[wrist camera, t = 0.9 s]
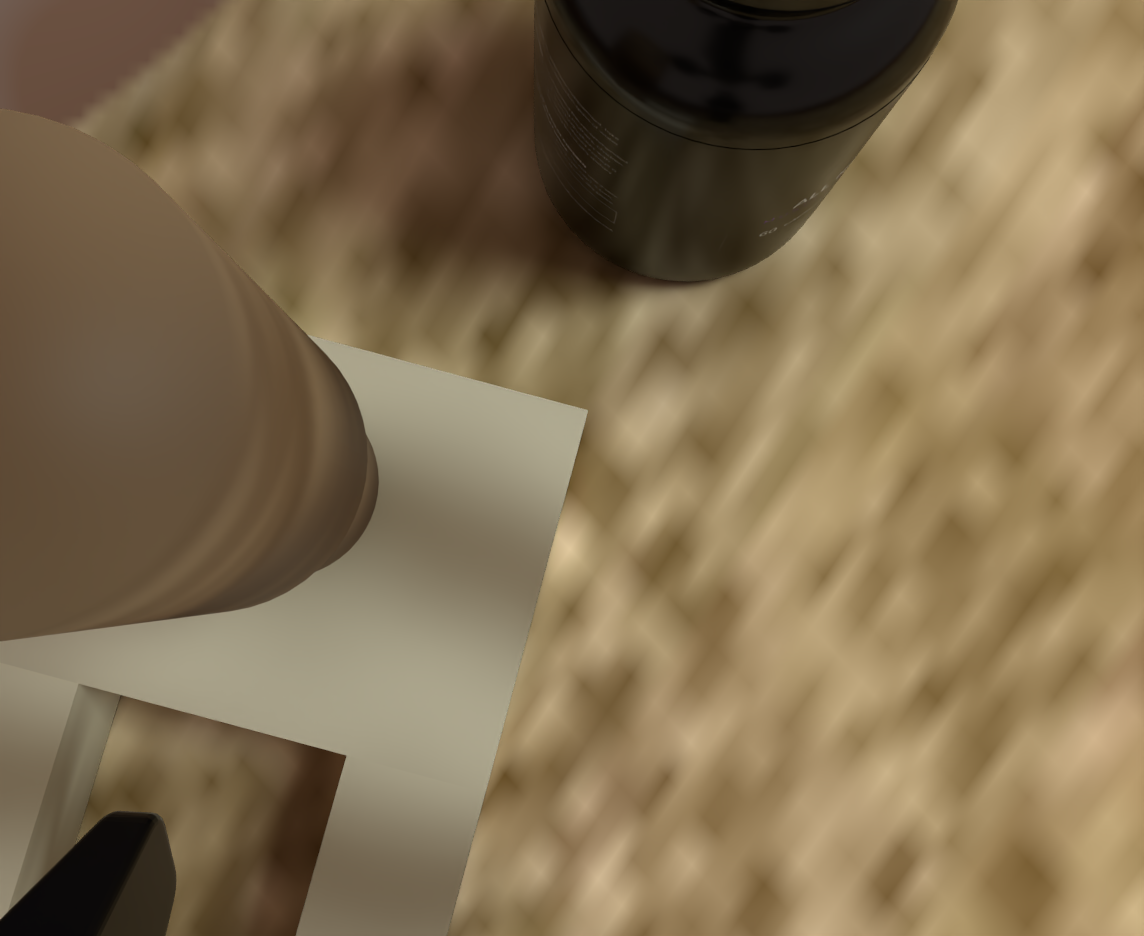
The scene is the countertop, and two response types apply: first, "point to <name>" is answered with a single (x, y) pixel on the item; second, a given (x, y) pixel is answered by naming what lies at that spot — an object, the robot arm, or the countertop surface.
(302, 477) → the walnut peg
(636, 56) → the supplement bottle
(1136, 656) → the countertop surface
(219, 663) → the board
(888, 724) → the countertop surface
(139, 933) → the robot arm
